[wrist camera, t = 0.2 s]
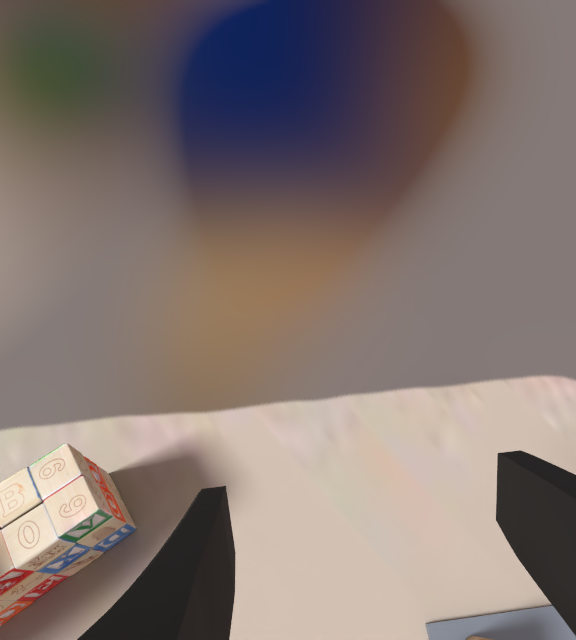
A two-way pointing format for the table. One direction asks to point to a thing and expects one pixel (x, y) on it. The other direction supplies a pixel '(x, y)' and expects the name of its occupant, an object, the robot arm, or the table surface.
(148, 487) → the table surface
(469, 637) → the oak fence section
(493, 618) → the board
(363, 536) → the table surface
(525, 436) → the table surface
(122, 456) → the table surface
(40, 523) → the stack of blocks
